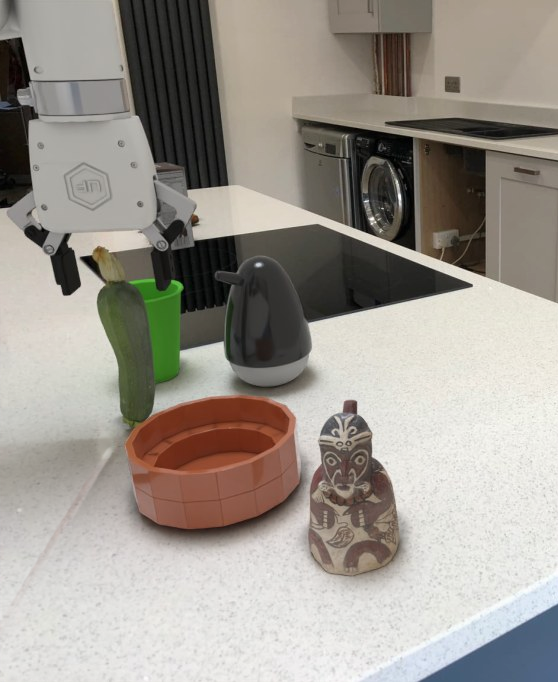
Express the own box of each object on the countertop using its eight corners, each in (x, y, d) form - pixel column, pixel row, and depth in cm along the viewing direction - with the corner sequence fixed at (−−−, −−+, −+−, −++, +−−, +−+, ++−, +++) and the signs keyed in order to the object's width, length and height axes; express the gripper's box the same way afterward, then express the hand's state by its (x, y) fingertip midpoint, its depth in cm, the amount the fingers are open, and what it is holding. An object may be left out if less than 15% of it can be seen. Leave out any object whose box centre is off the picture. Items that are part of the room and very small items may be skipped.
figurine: (296, 570, 56) (281, 431, 52) (326, 515, 63) (315, 388, 58) (387, 579, 55) (380, 438, 51) (407, 523, 62) (402, 394, 57)
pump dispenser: (212, 376, 90) (195, 255, 84) (289, 354, 96) (278, 240, 90) (249, 405, 82) (233, 274, 77) (330, 379, 88) (320, 257, 83)
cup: (100, 385, 87) (82, 298, 83) (151, 357, 95) (136, 276, 91) (164, 395, 85) (148, 305, 81) (210, 364, 93) (198, 281, 89)
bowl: (117, 544, 59) (103, 480, 57) (159, 454, 72) (149, 400, 70) (295, 529, 61) (288, 466, 59) (305, 444, 74) (300, 390, 72)
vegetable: (158, 414, 80) (126, 235, 73) (173, 429, 77) (141, 243, 70) (116, 427, 78) (79, 242, 70) (129, 442, 75) (92, 251, 67)
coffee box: (147, 243, 152) (134, 164, 146) (178, 238, 155) (166, 161, 150) (164, 252, 145) (151, 169, 139) (196, 246, 149) (184, 165, 143)
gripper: (-42, 107, 61) (8, 306, 67) (175, 102, 63) (203, 296, 69) (-2, 101, 68) (40, 282, 74) (192, 97, 70) (216, 274, 76)
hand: (118, 288), depth 72 cm, fingers open, 8 cm apart
